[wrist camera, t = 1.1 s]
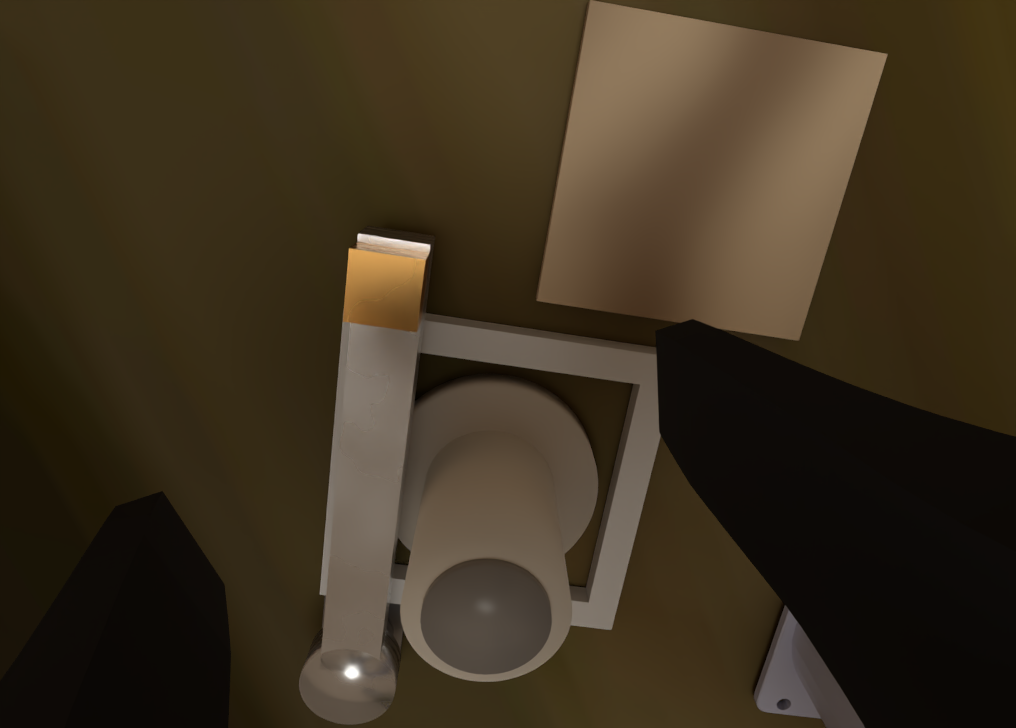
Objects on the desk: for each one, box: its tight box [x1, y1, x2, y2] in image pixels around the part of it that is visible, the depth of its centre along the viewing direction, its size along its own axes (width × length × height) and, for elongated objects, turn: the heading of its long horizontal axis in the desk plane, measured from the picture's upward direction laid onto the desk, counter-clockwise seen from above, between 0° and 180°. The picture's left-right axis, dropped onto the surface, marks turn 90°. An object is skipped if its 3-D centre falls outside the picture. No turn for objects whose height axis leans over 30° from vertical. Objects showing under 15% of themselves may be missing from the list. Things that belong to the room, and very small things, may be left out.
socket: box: [320, 312, 661, 630], centre depth 22 cm, size 10×10×1 cm
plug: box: [398, 373, 598, 682], centre depth 19 cm, size 7×7×7 cm
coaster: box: [536, 0, 888, 341], centre depth 20 cm, size 8×8×1 cm
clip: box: [299, 226, 435, 725], centre depth 20 cm, size 3×16×2 cm, turn 171°
